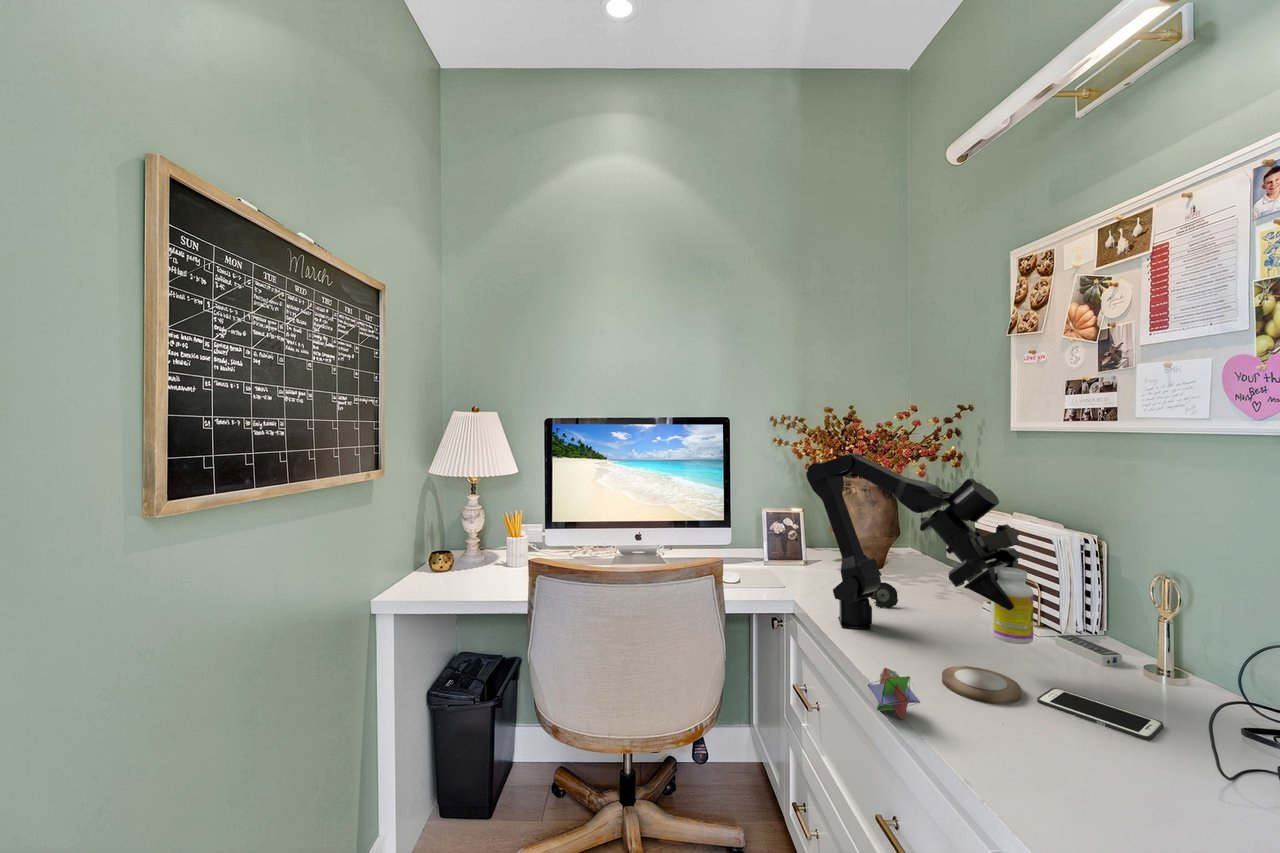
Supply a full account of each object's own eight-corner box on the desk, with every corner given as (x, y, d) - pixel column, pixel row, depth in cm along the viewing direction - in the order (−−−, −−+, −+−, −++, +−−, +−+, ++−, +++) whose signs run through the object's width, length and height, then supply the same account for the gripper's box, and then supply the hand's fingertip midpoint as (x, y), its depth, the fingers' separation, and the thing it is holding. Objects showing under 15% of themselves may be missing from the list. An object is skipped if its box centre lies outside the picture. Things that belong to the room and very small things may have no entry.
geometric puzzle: (934, 714, 86) (914, 660, 90) (893, 718, 85) (875, 662, 89) (911, 723, 91) (893, 671, 96) (872, 726, 90) (856, 674, 95)
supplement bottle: (1039, 647, 100) (1039, 576, 100) (996, 643, 102) (997, 573, 102) (1025, 634, 107) (1026, 567, 107) (986, 630, 109) (986, 564, 109)
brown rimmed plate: (954, 699, 95) (954, 690, 95) (933, 669, 106) (933, 662, 106) (1034, 707, 92) (1034, 698, 92) (1004, 675, 104) (1004, 667, 104)
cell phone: (1053, 691, 98) (1053, 686, 98) (1165, 728, 86) (1165, 722, 86) (1034, 704, 94) (1034, 698, 94) (1150, 744, 82) (1149, 738, 82)
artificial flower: (866, 613, 143) (854, 574, 145) (851, 598, 165) (841, 564, 167) (902, 605, 142) (889, 566, 144) (882, 591, 164) (871, 557, 166)
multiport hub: (1072, 645, 119) (1072, 634, 119) (1123, 666, 108) (1123, 654, 108) (1054, 646, 119) (1054, 635, 119) (1103, 667, 108) (1103, 655, 108)
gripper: (966, 515, 102) (1035, 590, 93) (1009, 507, 113) (1075, 573, 104) (923, 550, 109) (984, 624, 100) (968, 539, 119) (1027, 604, 111)
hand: (1020, 605), depth 103 cm, fingers closed on supplement bottle, 7 cm apart
